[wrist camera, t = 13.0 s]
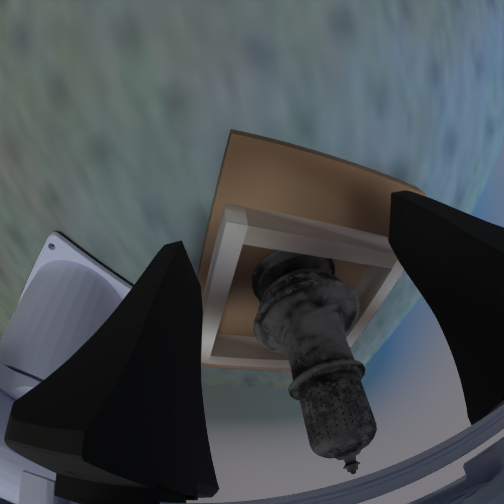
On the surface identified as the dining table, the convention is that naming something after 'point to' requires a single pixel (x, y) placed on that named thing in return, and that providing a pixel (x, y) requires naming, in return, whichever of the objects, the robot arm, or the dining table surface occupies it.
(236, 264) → the board
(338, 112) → the dining table surface
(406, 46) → the dining table surface
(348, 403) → the salt shaker
